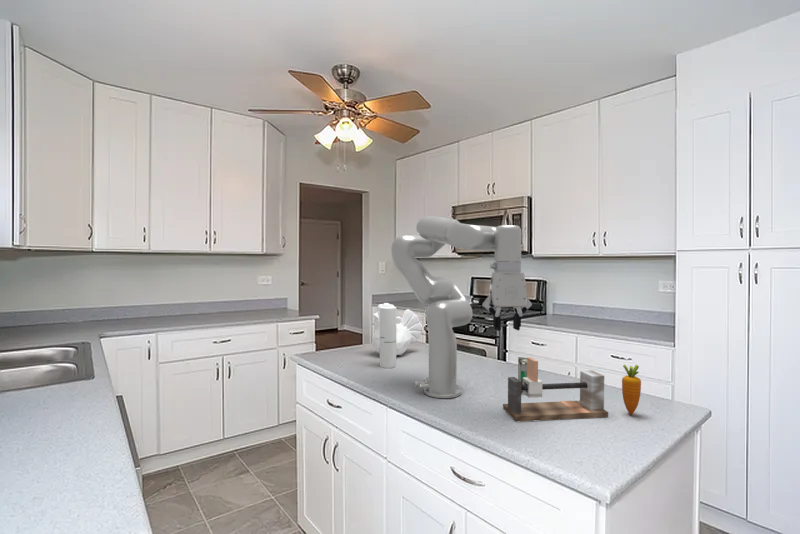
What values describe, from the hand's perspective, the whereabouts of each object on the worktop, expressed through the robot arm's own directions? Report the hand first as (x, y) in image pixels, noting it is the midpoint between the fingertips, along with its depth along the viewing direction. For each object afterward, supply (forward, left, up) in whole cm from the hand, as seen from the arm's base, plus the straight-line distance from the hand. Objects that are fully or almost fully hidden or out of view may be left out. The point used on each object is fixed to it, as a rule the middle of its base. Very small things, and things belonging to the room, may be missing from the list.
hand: (507, 329), depth 121 cm
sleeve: (+8, 0, -20) cm, 21 cm away
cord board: (+15, 0, -25) cm, 30 cm away
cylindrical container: (-29, +59, -26) cm, 71 cm away
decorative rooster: (-22, +79, -26) cm, 86 cm away
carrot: (+37, -4, -26) cm, 45 cm away
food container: (+17, +22, -26) cm, 38 cm away
